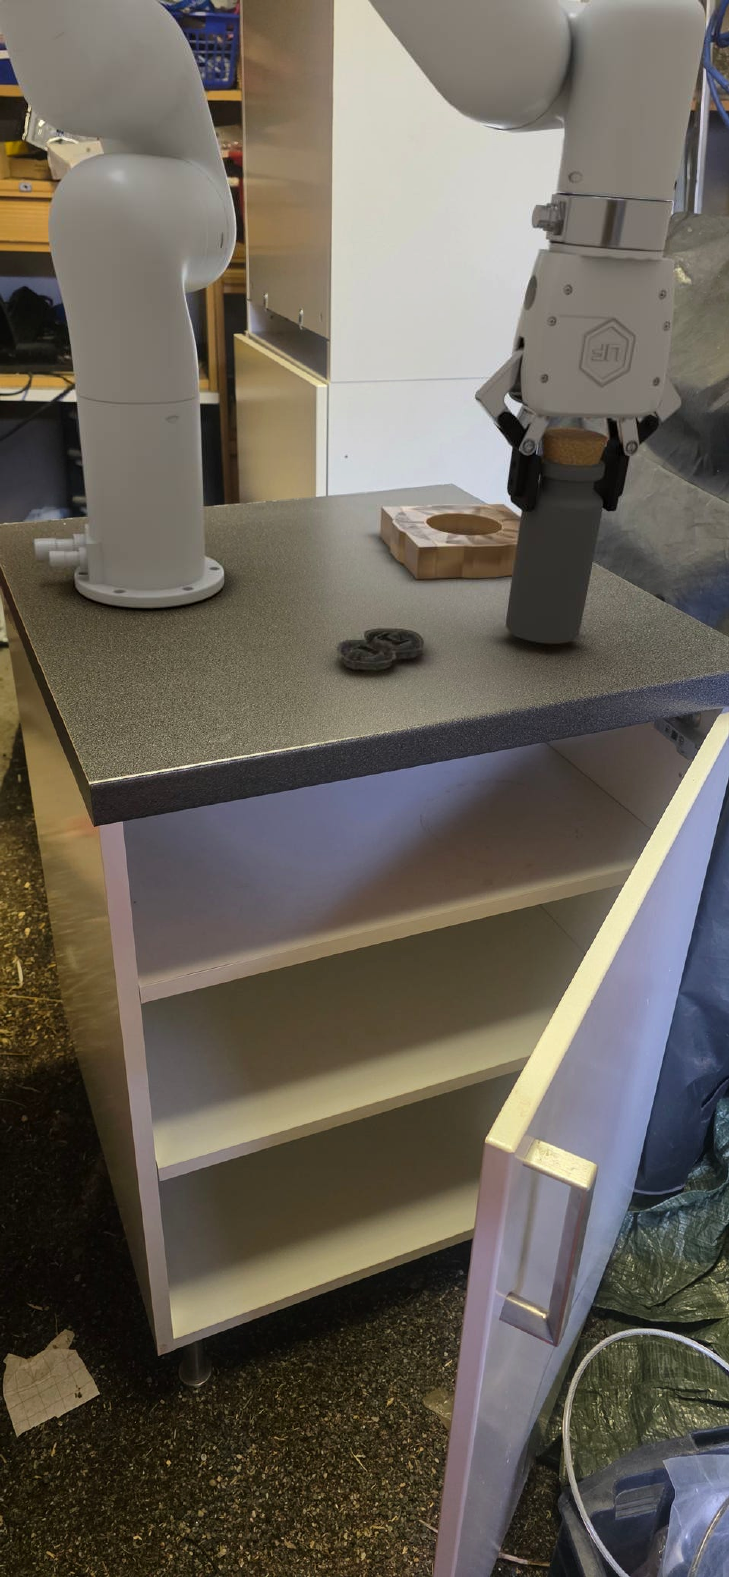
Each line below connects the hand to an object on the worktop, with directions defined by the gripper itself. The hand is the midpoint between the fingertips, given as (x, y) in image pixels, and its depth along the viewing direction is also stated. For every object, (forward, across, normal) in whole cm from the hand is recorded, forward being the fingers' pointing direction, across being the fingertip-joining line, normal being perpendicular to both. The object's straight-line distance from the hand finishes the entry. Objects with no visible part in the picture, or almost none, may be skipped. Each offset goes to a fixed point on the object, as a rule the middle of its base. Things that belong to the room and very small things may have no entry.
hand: (562, 504), depth 76 cm
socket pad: (+11, +1, +22) cm, 24 cm away
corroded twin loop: (+11, -14, -2) cm, 18 cm away
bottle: (+10, 0, 0) cm, 10 cm away
